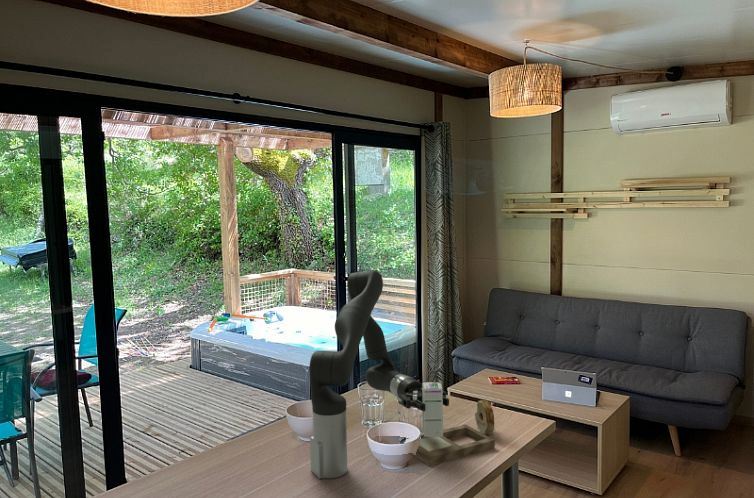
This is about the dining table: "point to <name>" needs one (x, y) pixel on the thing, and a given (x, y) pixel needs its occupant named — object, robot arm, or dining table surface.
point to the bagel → (484, 417)
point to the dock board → (452, 445)
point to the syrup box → (432, 409)
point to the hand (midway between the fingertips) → (436, 405)
